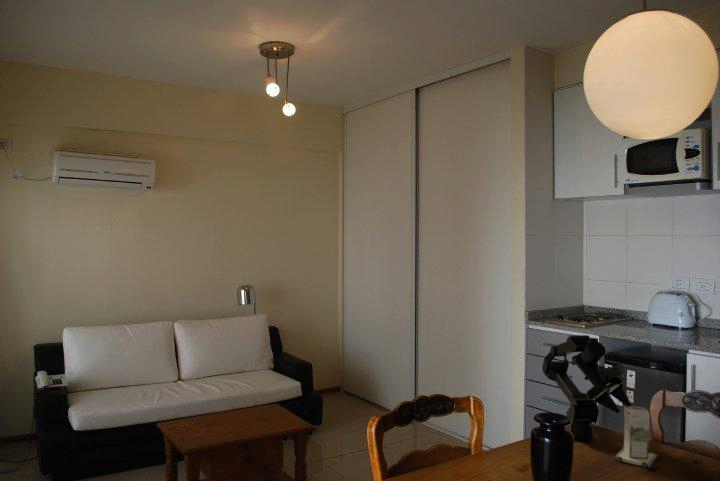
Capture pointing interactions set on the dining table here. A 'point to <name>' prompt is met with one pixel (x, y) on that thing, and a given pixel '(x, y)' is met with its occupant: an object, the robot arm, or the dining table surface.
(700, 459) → the dining table surface
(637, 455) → the syrup box
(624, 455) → the dolly
